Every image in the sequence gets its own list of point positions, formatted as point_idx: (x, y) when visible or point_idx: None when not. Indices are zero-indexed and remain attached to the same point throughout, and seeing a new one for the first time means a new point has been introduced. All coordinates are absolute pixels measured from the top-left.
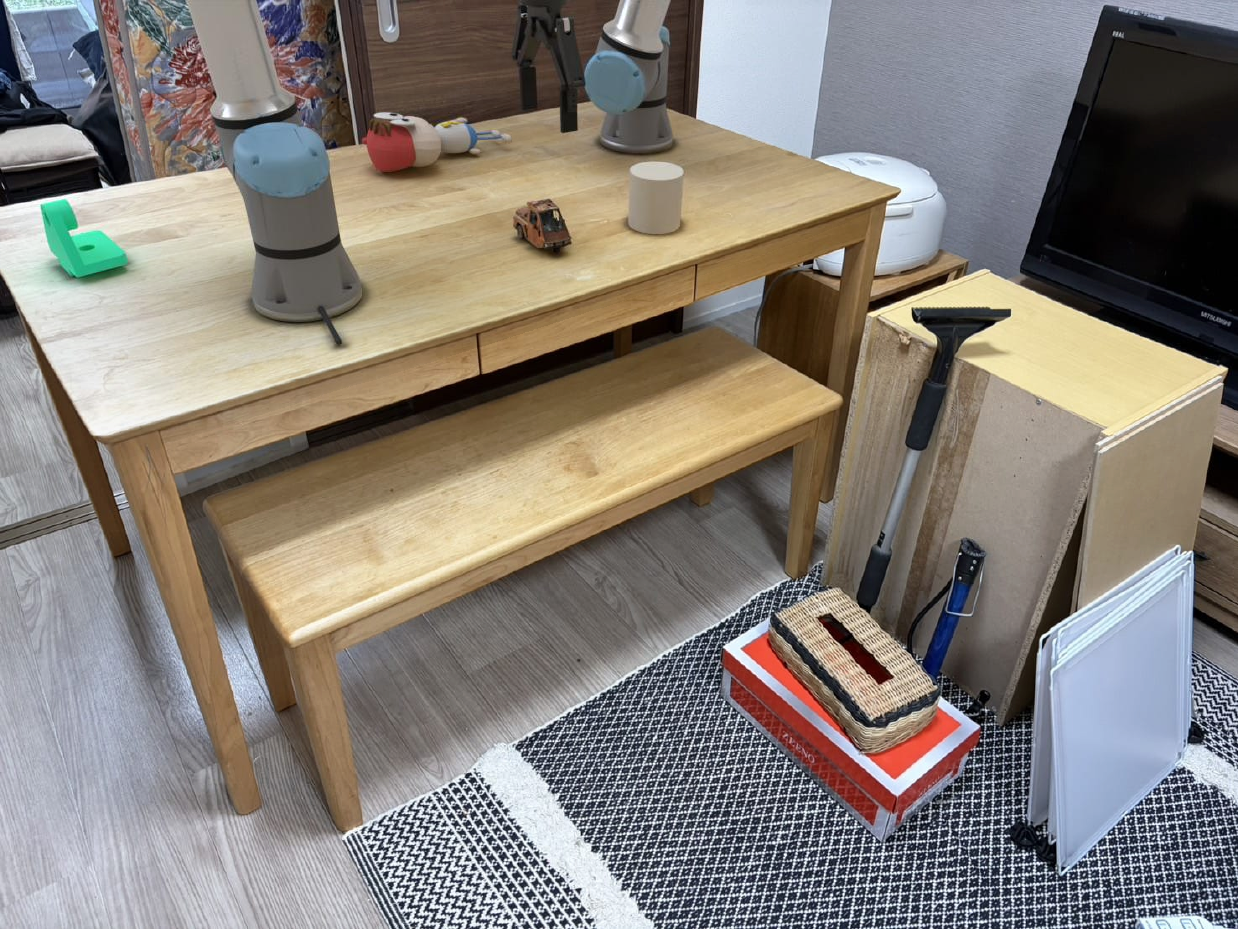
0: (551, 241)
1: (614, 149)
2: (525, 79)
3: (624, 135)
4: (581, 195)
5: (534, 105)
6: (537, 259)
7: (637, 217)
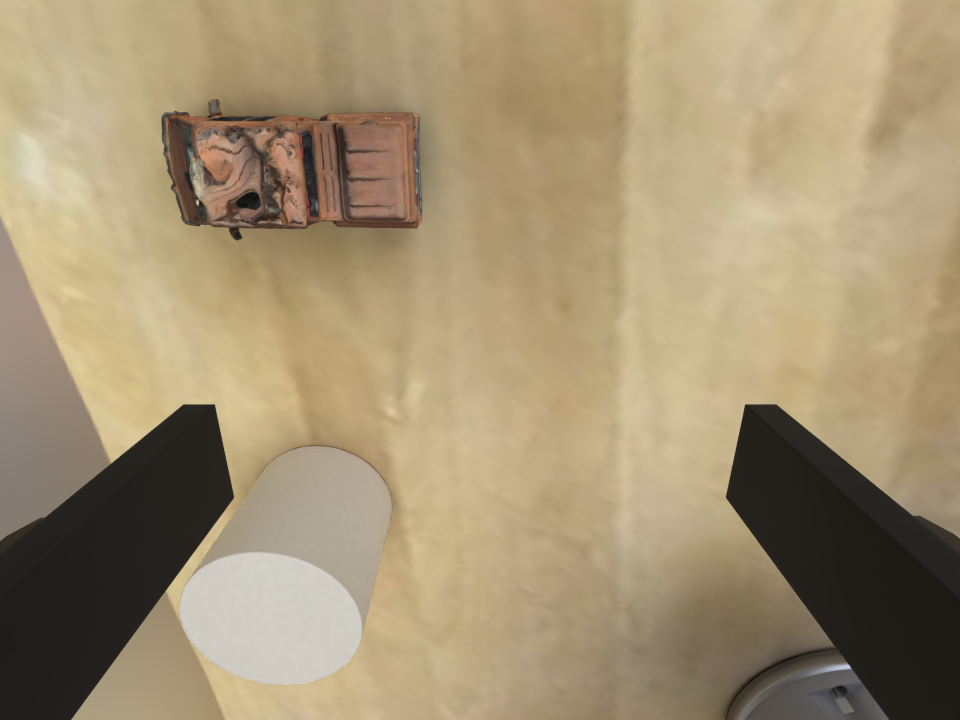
0: (170, 142)
1: (809, 656)
2: (888, 581)
3: (809, 708)
4: (593, 446)
5: (738, 491)
6: (203, 92)
7: (284, 469)
